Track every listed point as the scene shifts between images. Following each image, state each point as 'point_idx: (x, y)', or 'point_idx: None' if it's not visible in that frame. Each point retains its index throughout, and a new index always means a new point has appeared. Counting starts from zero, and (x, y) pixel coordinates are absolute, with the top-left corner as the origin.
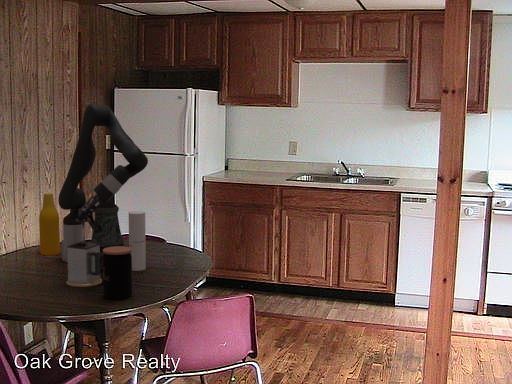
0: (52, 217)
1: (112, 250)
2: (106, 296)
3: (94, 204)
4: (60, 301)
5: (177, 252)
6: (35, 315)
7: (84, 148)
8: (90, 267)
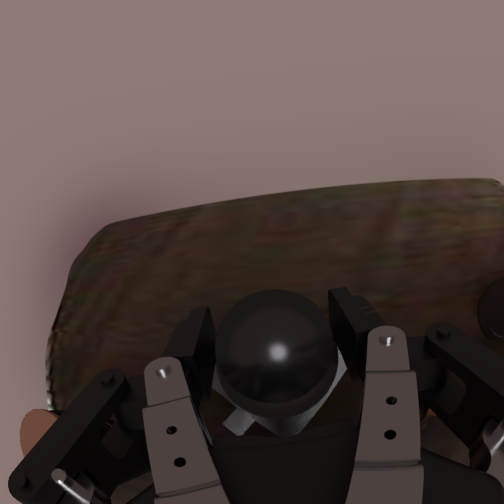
0: None
1: (37, 436)
2: None
3: (42, 462)
4: (124, 314)
5: None
6: (72, 272)
7: None
8: None
